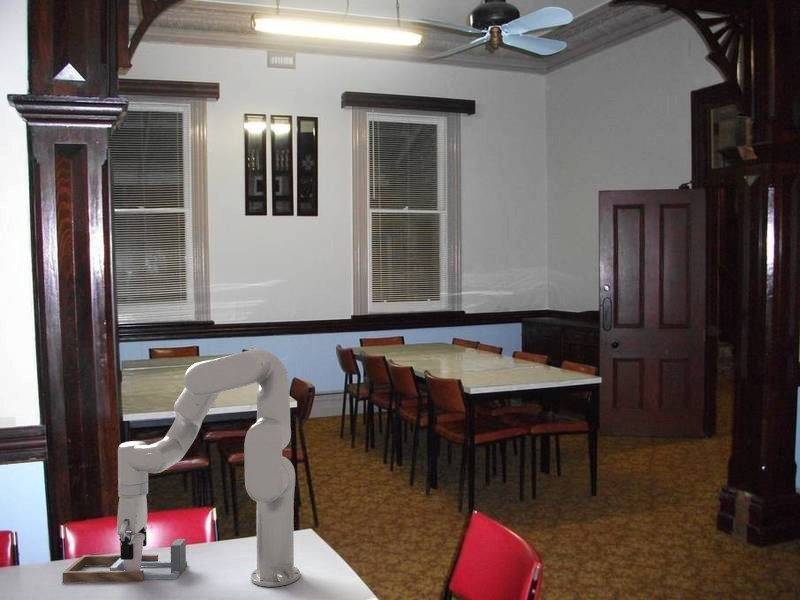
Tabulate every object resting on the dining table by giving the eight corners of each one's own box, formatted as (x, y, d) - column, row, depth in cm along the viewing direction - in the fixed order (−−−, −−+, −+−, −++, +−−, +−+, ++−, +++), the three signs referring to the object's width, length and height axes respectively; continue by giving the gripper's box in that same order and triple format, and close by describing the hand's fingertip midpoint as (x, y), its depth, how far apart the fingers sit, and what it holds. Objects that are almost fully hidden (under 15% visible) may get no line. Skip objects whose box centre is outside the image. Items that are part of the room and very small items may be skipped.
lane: (158, 563, 199) (158, 554, 199) (142, 581, 187) (142, 571, 186) (83, 564, 199) (83, 555, 199) (62, 582, 186) (62, 572, 186)
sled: (188, 565, 197) (187, 536, 197) (177, 578, 188) (177, 548, 188) (123, 566, 197) (122, 536, 197) (109, 579, 188) (109, 549, 188)
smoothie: (140, 577, 190) (139, 523, 189) (115, 577, 190) (115, 524, 189) (148, 567, 196) (148, 516, 196) (125, 568, 196) (124, 516, 196)
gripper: (131, 480, 201) (131, 541, 201) (106, 497, 184) (106, 564, 184) (158, 480, 201) (158, 541, 201) (135, 497, 184) (136, 564, 184)
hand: (133, 552), depth 193 cm, fingers open, 9 cm apart
